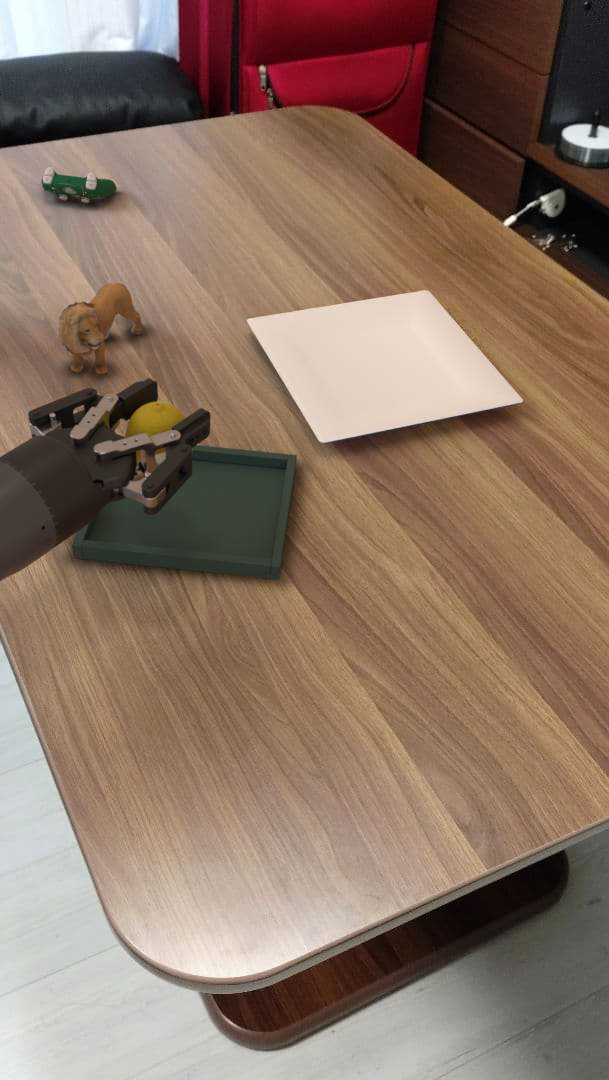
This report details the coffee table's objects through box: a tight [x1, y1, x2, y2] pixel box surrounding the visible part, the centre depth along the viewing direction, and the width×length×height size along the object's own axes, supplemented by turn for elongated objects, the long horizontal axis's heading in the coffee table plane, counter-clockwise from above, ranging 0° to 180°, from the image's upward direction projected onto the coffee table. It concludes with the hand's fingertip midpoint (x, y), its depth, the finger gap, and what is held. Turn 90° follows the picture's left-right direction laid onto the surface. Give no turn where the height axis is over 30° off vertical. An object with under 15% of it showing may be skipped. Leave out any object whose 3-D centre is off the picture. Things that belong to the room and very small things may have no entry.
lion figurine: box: [58, 282, 143, 375], centre depth 101 cm, size 15×5×9 cm, turn 169°
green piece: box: [41, 166, 117, 204], centre depth 127 cm, size 9×4×6 cm
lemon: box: [124, 401, 193, 464], centre depth 80 cm, size 6×6×8 cm
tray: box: [71, 444, 298, 580], centre depth 87 cm, size 18×15×2 cm
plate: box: [246, 289, 524, 445], centre depth 104 cm, size 22×22×2 cm
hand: (179, 403), depth 80 cm, fingers closed on lemon, 5 cm apart
